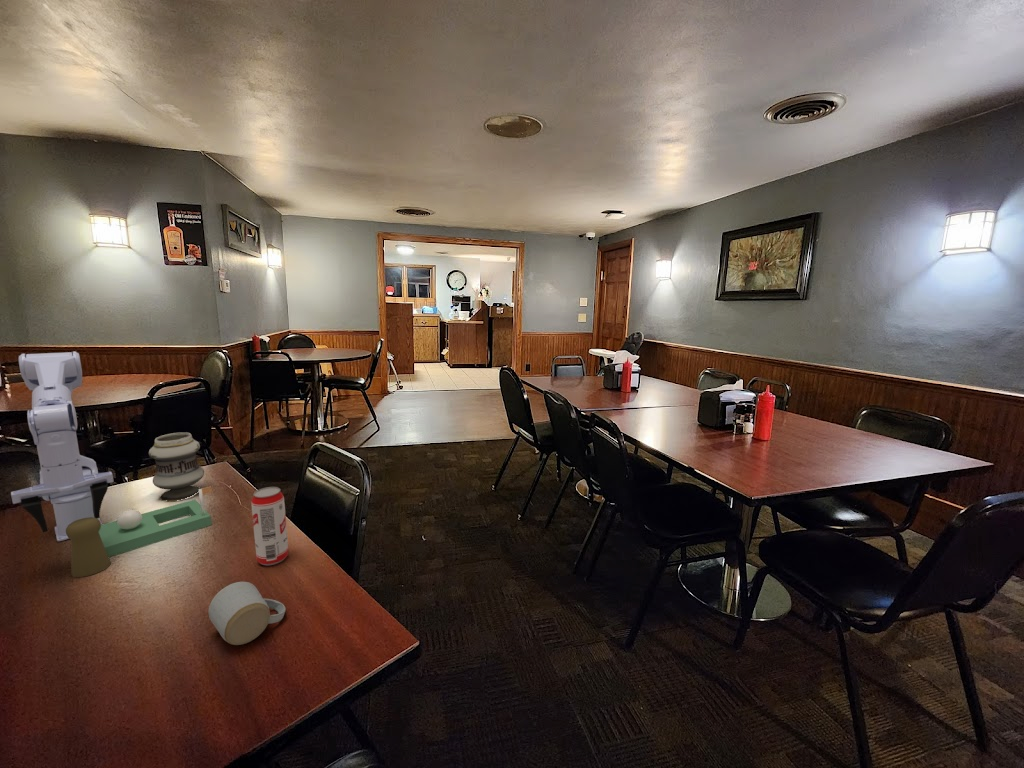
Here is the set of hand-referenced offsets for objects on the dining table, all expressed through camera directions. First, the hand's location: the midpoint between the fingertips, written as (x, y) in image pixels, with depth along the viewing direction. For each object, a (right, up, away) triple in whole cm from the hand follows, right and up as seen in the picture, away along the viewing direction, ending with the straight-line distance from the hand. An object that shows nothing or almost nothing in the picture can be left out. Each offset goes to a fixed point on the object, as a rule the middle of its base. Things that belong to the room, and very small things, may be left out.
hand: (71, 523), depth 91 cm
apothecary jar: (-5, -4, +37) cm, 37 cm away
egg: (+2, -3, +12) cm, 12 cm away
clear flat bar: (+14, -4, +20) cm, 25 cm away
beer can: (+40, -10, +5) cm, 41 cm away
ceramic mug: (+47, -14, -15) cm, 51 cm away
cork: (+4, -10, +1) cm, 11 cm away
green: (+4, -7, +16) cm, 18 cm away
